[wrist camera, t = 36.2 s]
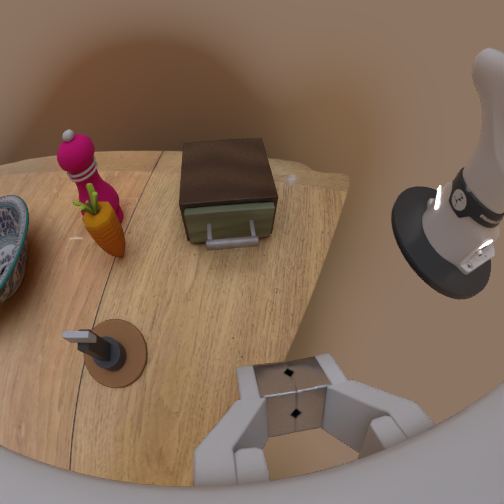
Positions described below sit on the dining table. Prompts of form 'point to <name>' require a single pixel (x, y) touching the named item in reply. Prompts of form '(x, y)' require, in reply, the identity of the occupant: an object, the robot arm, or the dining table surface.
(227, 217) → the drawer
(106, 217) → the carrot
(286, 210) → the dining table surface
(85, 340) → the dark grey tall piece
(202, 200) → the cabinet
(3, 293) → the bowl
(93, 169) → the pepper mill
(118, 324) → the coaster
